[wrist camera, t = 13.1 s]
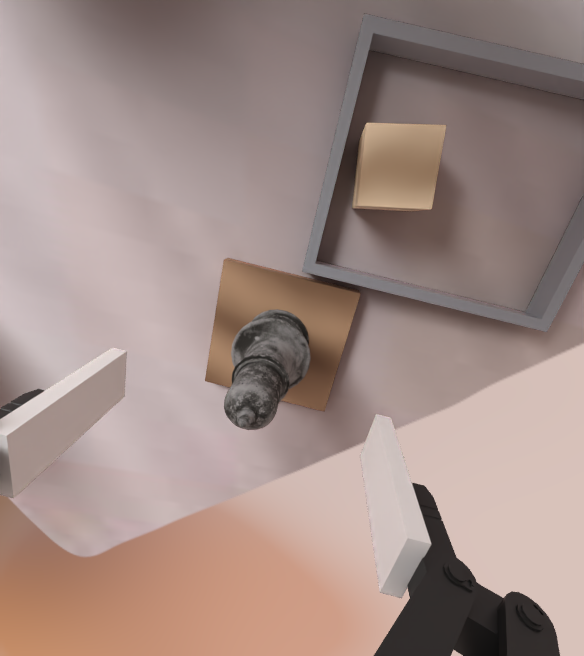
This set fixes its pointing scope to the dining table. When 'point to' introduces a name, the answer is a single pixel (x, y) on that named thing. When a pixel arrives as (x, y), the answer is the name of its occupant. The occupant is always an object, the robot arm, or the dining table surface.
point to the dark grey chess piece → (265, 367)
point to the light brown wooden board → (289, 295)
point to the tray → (483, 60)
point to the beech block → (397, 166)
